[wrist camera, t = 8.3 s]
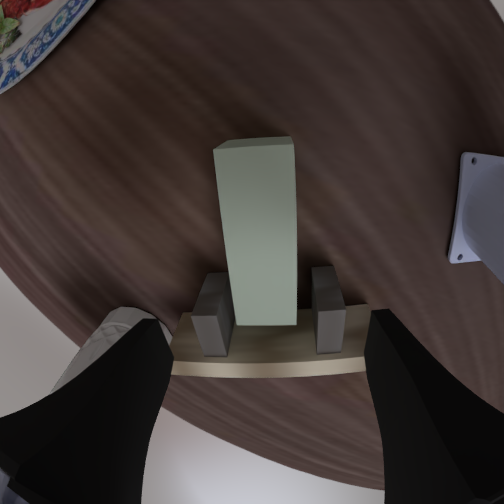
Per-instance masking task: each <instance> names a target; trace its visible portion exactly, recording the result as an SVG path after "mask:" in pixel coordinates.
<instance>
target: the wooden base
mask: <svg viewBox="0 0 504 504" xmlns="http://www.w3.org/2000/svg"><path fill="white" fill-rule="evenodd" d="M370 317H371V311H370V309H369V306H368V304H362V305H351V306H345V303H344V300H343V296H342V292H341V289H340V285H339V282H338V278H337V275H336V271H335V268H334V266H324V267H312V308H311V309H297V320H296V325H237V324H236V317H235V311H234V304H233V298H232V291H231V284H230V277H229V272H218V273H207V276H206V278H205V281H204V283H203V286H202V288H201V291H200V293H199V296H198V298H197V301H196V303H195V306H194V309H193V311H192V312H183V313H182V316H181V318H180V321H179V323H178V325H177V328H176V330H175V333H174V335H173V337H172V340H171V342H170V345H169V347H170V349H171V351H172V353H173V356H174V362H173V367H172V372H171V374H175V375H188V376H203V377H228V378H277V377H302V376H318V375H330V374H341V373H351V372H359V371H366V366H365V359H364V348H365V343H366V338H367V333H368V328H369V322H370Z"/></svg>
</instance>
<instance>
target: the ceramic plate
mask: <svg viewBox="0 0 504 504" xmlns="http://www.w3.org/2000/svg"><path fill="white" fill-rule="evenodd" d="M95 1H96V0H0V94H1V93H3V92H5V91H6V90H8V89H9V88H11V87H12V86H14V85H15V84H17V83H18V82H19V81H20V80H22V79H23V78H24V77H25V76H26V75H27V74H29V73H30V72H31V71H32V70H33V69H34V68H35V67H36V66H37V65H38V64H39V63H40V62H41V61H43V60H44V59H45V57H46V56H47V55H48V54H49V53H50V52H51V51H52V50H53V49H54V48H55V47H56V46H57V45H58V44H59V43H60V42H61V40H62V39H63V38H64V37H65V36H66V35H67V34H68V33H69V32H70V30H71V29H72V28H73V27H74V26H75V25H76V23H77V22H78V21H79V20H80V19H81V18H82V17H83V16H84V14H85V13H86V12H87V11H88V10H89V9H90V7H91V6H92V5H93V4H94V2H95Z"/></svg>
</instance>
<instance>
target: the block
mask: <svg viewBox="0 0 504 504" xmlns="http://www.w3.org/2000/svg"><path fill="white" fill-rule="evenodd" d="M213 153H214V162H215V170H216V179H217V187H218V195H219V203H220V211H221V219H222V226H223V234H224V241H225V249H226V256H227V263H228V270H229V277H230V284H231V291H232V298H233V304H234V311H235V317H236V324H237V325H296V320H297V218H296V182H295V157H294V144H293V141H292V139H291V136H286V137H264V138H249V139H236V140H227V141H226V142H224V143H223V144H221V145H219V146H218V147H216V148H215V149H213Z"/></svg>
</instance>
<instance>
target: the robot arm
mask: <svg viewBox="0 0 504 504" xmlns="http://www.w3.org/2000/svg"><path fill="white" fill-rule="evenodd" d="M472 158H474V162H473V163H472ZM459 255H460V256H459ZM458 256H459V257H458ZM448 260H449V261H450V262H451V263H462V262H472V261H481V260H482V262H483V263H484V264H485V265H486V266H487V267H488V268H489V269H490V270H491V271H492V272H493V273H494V274H495V275H496V277H497V278H498V279H499V280H500V281H501V282H502V283H503V284H504V157H500V156H494V155H487V154H479V153H471V152H464V153H463V154H462V156H461V162H460V177H459V188H458V197H457V205H456V213H455V220H454V226H453V232H452V237H451V243H450V248H449V253H448ZM364 359H365V366H366V373H367V379H368V383H369V387H370V391H371V395H372V399H373V403H374V407H375V411H376V415H377V419H378V424H379V428H380V432H381V438H382V445H383V457H384V476H385V502H384V503H385V504H504V414H503V413H502V412H500V411H499V410H497V409H495V408H494V407H493V406H491V405H490V404H488V403H487V402H485V401H484V400H483V399H481V398H480V397H478V396H477V395H476V394H474V393H473V392H472V391H471V390H470V389H468V388H467V387H466V386H465V385H463V384H462V383H461V382H460V381H459V380H457V379H456V378H455V377H454V376H453V375H452V374H451V373H450V372H449V371H448V370H447V369H446V368H444V367H443V366H442V365H441V364H440V363H439V362H438V361H437V360H436V359H435V358H434V357H433V356H432V355H431V354H430V353H429V352H428V350H427V349H426V348H425V347H424V346H423V345H422V344H421V343H420V342H419V341H418V340H417V339H416V338H415V337H414V336H413V334H412V333H411V332H410V331H409V330H408V329H407V328H406V327H405V326H404V325H403V323H402V322H401V321H400V320H399V319H398V318H397V317H396V316H395V315H394V314H393V313H392V311H391V310H390V309H381V310H372V311H371V317H370V322H369V328H368V333H367V338H366V343H365V348H364ZM173 362H174V356H173V353H172V351H171V349H170V347H169V344H168V342H167V340H166V337H165V335H164V333H163V330H162V328H161V325H160V323H159V320H158V319H151V318H143V319H142V320H140V321H139V322H138V323H137V324H136V325H134V326H133V327H132V328H131V329H130V330H129V331H128V332H127V333H125V334H124V335H123V336H122V337H121V338H120V339H119V340H118V341H117V342H116V343H114V344H113V345H112V346H111V347H110V348H109V349H108V350H107V351H106V352H105V353H103V354H102V355H101V356H100V357H99V358H98V359H97V360H95V361H94V362H93V363H92V364H91V365H89V366H88V367H87V368H86V369H85V370H83V371H82V372H81V373H80V374H79V375H77V376H76V377H75V378H73V379H72V380H71V381H69V382H68V383H66V384H65V385H64V386H62V387H61V388H59V389H58V390H56V391H55V392H53V393H51V394H50V395H48V396H46V397H44V398H43V399H41V400H40V401H38V402H36V403H34V404H32V405H30V406H28V407H26V408H24V409H21V410H19V411H17V412H15V413H12V414H10V415H7V416H4V417H1V418H0V504H141V496H142V484H143V475H144V468H145V461H146V456H147V451H148V446H149V441H150V437H151V434H152V430H153V427H154V424H155V422H156V419H157V416H158V413H159V410H160V407H161V404H162V402H163V399H164V396H165V393H166V390H167V387H168V384H169V381H170V377H171V372H172V367H173Z"/></svg>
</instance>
